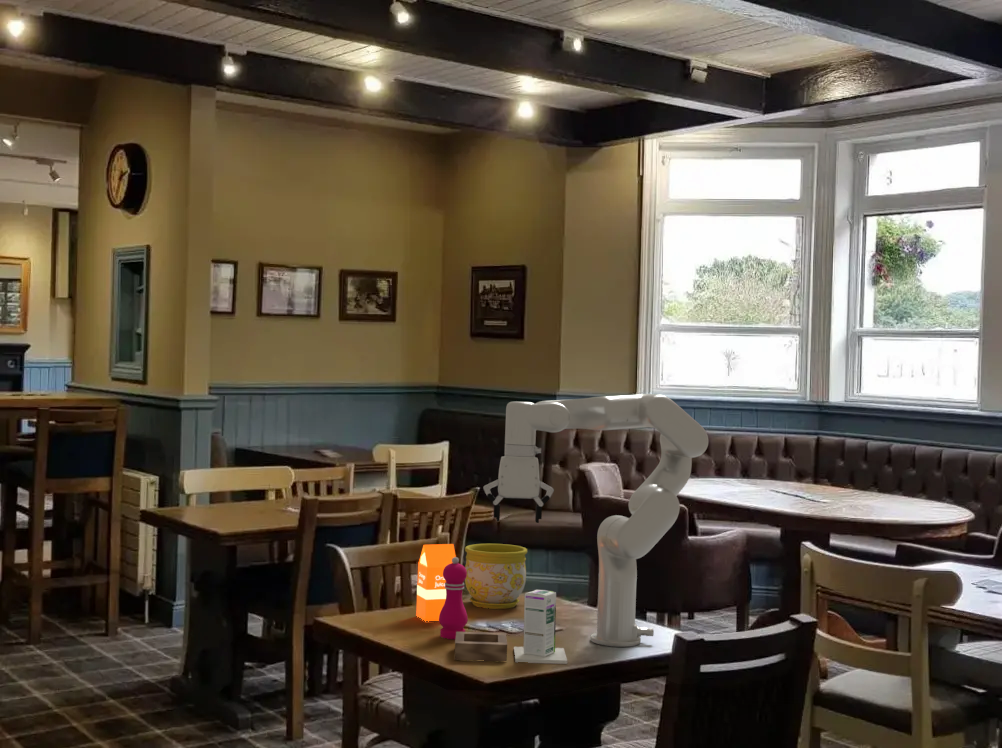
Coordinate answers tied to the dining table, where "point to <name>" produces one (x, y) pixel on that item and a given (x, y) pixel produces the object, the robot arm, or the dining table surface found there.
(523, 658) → the plate
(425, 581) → the orange juice
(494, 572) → the flowerpot
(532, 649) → the syrup box
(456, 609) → the pepper mill
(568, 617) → the dining table surface
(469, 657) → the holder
